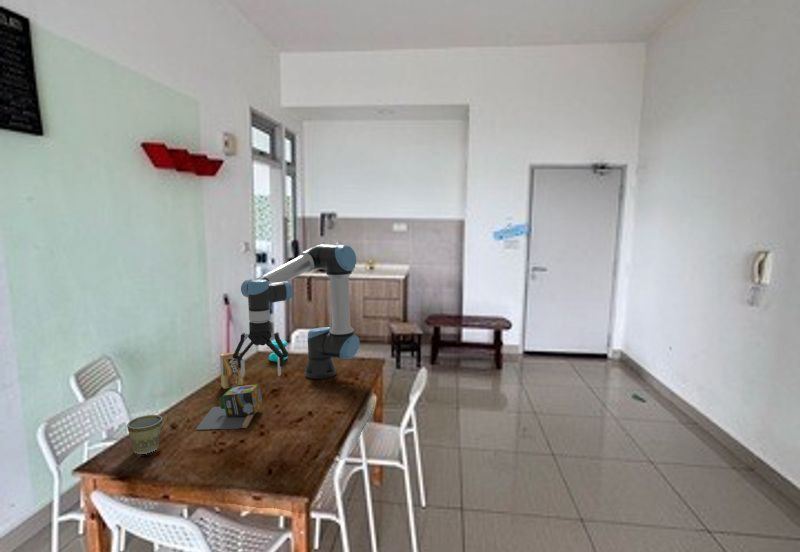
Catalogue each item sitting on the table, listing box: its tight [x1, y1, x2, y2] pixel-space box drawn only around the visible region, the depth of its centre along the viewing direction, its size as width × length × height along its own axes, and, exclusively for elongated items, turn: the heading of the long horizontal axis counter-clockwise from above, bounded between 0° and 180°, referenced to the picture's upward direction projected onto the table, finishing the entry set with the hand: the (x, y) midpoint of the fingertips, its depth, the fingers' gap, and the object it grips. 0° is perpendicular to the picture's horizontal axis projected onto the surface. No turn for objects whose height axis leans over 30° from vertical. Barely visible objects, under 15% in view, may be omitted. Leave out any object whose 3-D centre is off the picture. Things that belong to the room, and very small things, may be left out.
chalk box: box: [219, 383, 264, 417], centre depth 176 cm, size 9×9×15 cm
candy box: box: [219, 351, 244, 390], centre depth 206 cm, size 9×4×15 cm, turn 129°
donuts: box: [268, 339, 289, 363], centre depth 246 cm, size 10×10×10 cm
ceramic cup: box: [126, 414, 170, 455], centre depth 149 cm, size 13×10×10 cm
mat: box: [195, 406, 255, 431], centre depth 173 cm, size 18×20×2 cm
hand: (261, 375), depth 173 cm, fingers open, 13 cm apart
